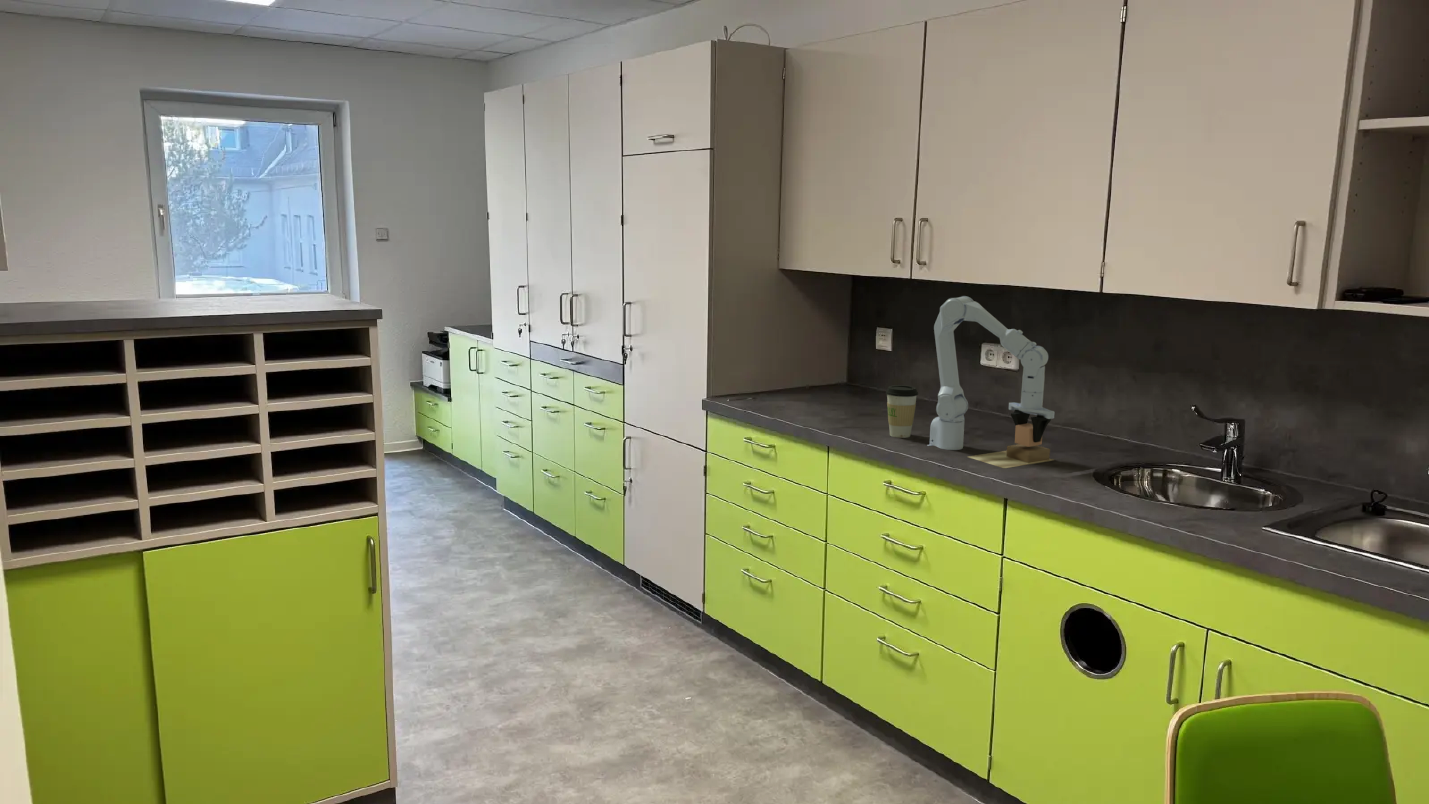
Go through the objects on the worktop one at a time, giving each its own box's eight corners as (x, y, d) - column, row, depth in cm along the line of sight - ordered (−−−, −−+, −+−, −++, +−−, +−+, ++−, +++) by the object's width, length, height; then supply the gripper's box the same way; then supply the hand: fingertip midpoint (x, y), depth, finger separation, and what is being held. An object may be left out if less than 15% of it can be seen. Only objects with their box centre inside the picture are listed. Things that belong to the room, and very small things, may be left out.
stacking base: (966, 459, 264) (967, 446, 263) (1015, 451, 273) (1016, 438, 272) (1004, 471, 252) (1005, 457, 251) (1054, 462, 261) (1055, 449, 260)
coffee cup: (890, 430, 300) (892, 383, 297) (920, 434, 295) (923, 386, 292) (879, 436, 291) (881, 388, 288) (909, 440, 286) (912, 391, 284)
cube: (1014, 442, 263) (1015, 425, 262) (1027, 440, 265) (1028, 423, 264) (1028, 446, 259) (1029, 428, 258) (1041, 444, 261) (1042, 426, 260)
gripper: (1002, 388, 264) (998, 435, 266) (1042, 396, 251) (1039, 446, 254) (1020, 386, 267) (1017, 433, 270) (1061, 394, 255) (1057, 443, 257)
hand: (1028, 439), depth 262 cm, fingers closed on cube, 5 cm apart
